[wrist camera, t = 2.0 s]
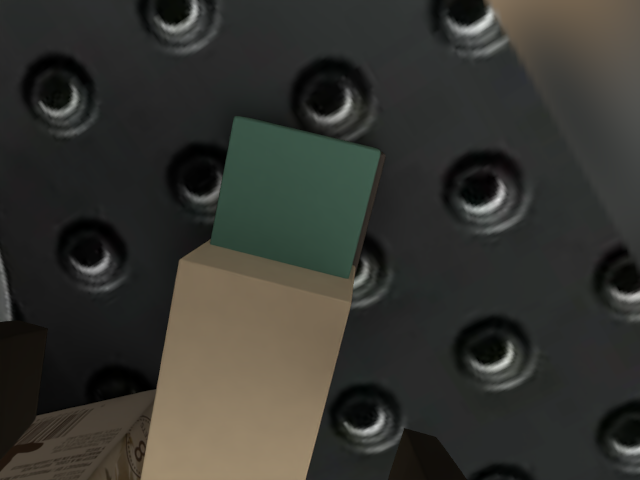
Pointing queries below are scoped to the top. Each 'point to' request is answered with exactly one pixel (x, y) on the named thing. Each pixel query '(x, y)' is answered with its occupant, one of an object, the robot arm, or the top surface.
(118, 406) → the coffee box
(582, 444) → the top surface
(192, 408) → the tan and green block
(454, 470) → the robot arm
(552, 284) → the top surface
